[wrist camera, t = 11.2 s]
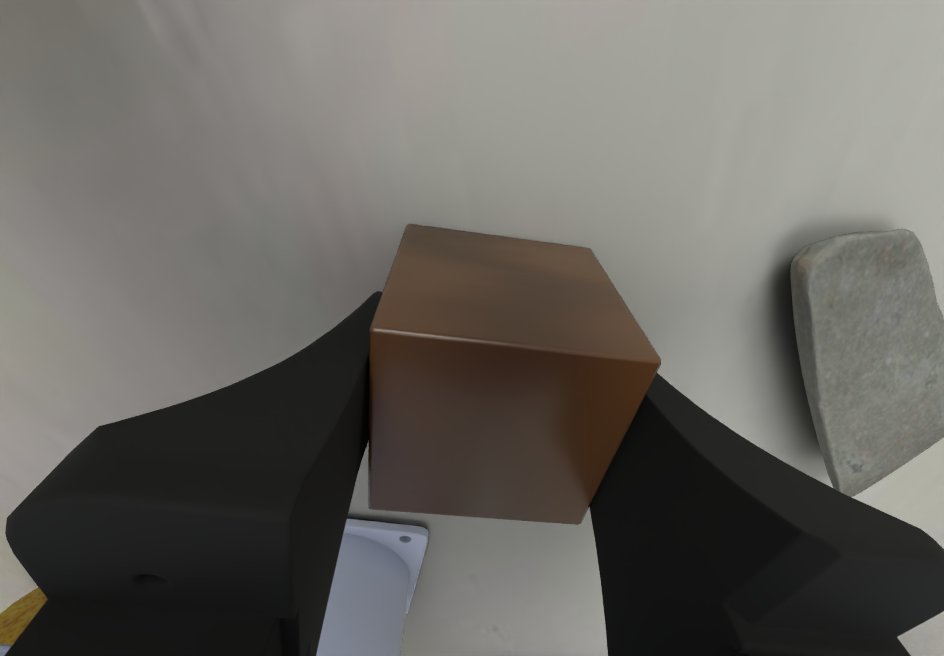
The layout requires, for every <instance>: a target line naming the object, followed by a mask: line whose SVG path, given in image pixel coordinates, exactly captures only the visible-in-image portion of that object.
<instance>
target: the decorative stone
mask: <svg viewBox="0 0 944 656" xmlns="http://www.w3.org/2000/svg"><path fill="white" fill-rule="evenodd" d="M791 291H792V304H793V315H794V324H795V332H796V339H797V346H798V352H799V358H800V364H801V370H802V375H803V380H804V385H805V389H806V394H807V398H808V402H809V407H810V410H811V415H812V419H813V423H814V427H815V431H816V434H817V438H818V442H819V445H820V449H821V452H822V456H823V459H824V463H825V466H826V469H827V472H828V475H829V478H830V480H831V483H832V485H833V487H834V489H835V490H837V491H839V492H841V493H843V494H845V495H847V496H849V497H852V496H855V495H856V494H858V493H860V492H862V491H863V490H865V489H867V488H868V487H870V486H872V485H873V484H875V483H876V482H878V481H880V480H881V479H883V478H884V477H886V476H887V475H889V474H890V473H892V472H893V471H895V470H896V469H898V468H899V467H901V466H902V465H904V464H905V463H907V462H908V461H910V460H911V459H913V458H914V457H916V456H917V455H919V454H920V453H922V452H923V451H925V450H926V449H928V448H929V447H930V446H932V445H933V444H935V443H936V442H938V441H939V440H940V439H942V438H943V437H944V319H943V315H942V312H941V310H940V308H939V306H938V303H937V300H936V295H935V289H934V283H933V280H932V276H931V273H930V269H929V266H928V262H927V259H926V256H925V253H924V251H923V248H922V245H921V243H920V241H919V240H918V238H917V237H916V235H915V234H914V233H913V232H911V231H909V230H907V229H897V230H893V231H889V232H888V231H869V232H855V233H850V234H844V235H839V236H834V237H830V238H828V239H825V240H822V241H819V242H816V243H813V244H810V245H807V246H805V247H804V248H803V249H802V250H801V251H800V252H799V253H798V254H797V255H796V256H795V257H794V259H793V261H792V263H791Z"/></svg>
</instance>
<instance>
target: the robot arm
mask: <svg viewBox="0 0 944 656" xmlns="http://www.w3.org/2000/svg"><path fill="white" fill-rule="evenodd" d="M382 293H383V292H379V291H377V292H375V293H374V294H372V295H371V296H370V297H369V298H368V299H367V300H366V301H365V302H364V303H363V304H362V305H361V306H360V307H359V308H357V309H356V310H355V311H354V312H353V313H352V314H350V315H349V316H348V317H347V318H346V319H344V320H343V321H342V322H341V323H339V324H338V325H337V326H336V327H334V328H333V329H332V330H330V331H329V332H327V333H326V334H325V335H323V336H322V337H320V338H319V339H317V340H316V341H315V342H313V343H312V344H310V345H309V346H307V347H306V348H304V349H302V350H301V351H299V352H298V353H296V354H294V355H293V356H291V357H289V358H287V359H285V360H284V361H282V362H280V363H278V364H276V365H274V366H272V367H270V368H268V369H265V370H263V371H261V372H259V373H257V374H254V375H252V376H250V377H248V378H246V379H243V380H241V381H239V382H237V383H234V384H232V385H229V386H227V387H224V388H222V389H219V390H216V391H214V392H211V393H209V394H206V395H203V396H200V397H197V398H194V399H191V400H188V401H186V402H183V403H179V404H176V405H173V406H170V407H167V408H163V409H160V410H156V411H153V412H149V413H146V414H142V415H139V416H135V417H132V418H128V419H125V420H121V421H118V422H114V423H110V424H106V425H102V426H99V427H98V428H96V429H95V430H94V431H93V432H92V433H91V434H90V435H89V436H88V437H86V438H85V439H84V440H83V441H82V442H81V443H80V444H79V445H78V446H77V447H76V448H74V449H73V450H72V451H71V452H70V453H69V454H68V455H67V456H66V457H65V458H64V460H63V461H62V462H61V463H60V464H59V465H58V466H57V467H56V468H55V469H54V470H53V471H52V472H51V473H50V474H49V475H48V476H47V477H46V478H45V479H44V480H43V481H42V482H41V483H40V484H39V485H38V486H37V487H36V488H35V489H34V490H33V491H32V492H31V493H30V494H29V495H28V496H27V497H26V499H25V500H24V501H23V502H22V503H21V504H20V505H19V506H18V507H17V508H16V509H15V510H14V511H13V512H12V513H11V514H10V515H9V516H8V517H7V524H6V532H5V533H6V537H7V541H8V543H9V545H10V547H11V549H12V551H13V553H14V555H15V556H16V557H17V559H18V560H19V561H20V563H21V564H22V565H23V567H24V568H25V569H26V571H27V572H28V573H29V575H30V576H31V577H32V579H33V580H34V581H35V583H36V584H37V585H38V587H39V588H40V589H41V591H42V592H43V594H44V595H45V596H46V598H47V601H46V602H45V603H44V605H43V606H42V607H41V609H40V610H39V611H38V612H37V614H36V615H35V616H34V618H33V619H32V620H31V622H30V623H29V624H28V625H27V627H26V628H25V629H24V631H23V632H22V633H21V635H20V636H19V637H18V638H17V640H16V641H15V642H14V644H13V645H10V644H0V656H401V649H402V640H403V631H404V621H405V615H406V614H407V613H408V612H409V608H410V605H411V601H412V597H413V594H414V590H415V586H416V583H417V579H418V576H419V572H420V568H421V565H422V561H423V557H424V554H425V550H426V546H427V543H428V536H429V533H428V531H427V529H426V528H424V527H420V526H413V525H403V524H394V523H385V522H375V521H366V520H357V519H348V518H347V516H348V512H349V507H350V503H351V499H352V495H353V490H354V486H355V482H356V478H357V474H358V471H359V467H360V464H361V461H362V458H363V455H364V452H365V449H366V446H367V443H368V440H369V333H370V327H371V324H372V321H373V319H374V316H375V313H376V310H377V307H378V304H379V302H380V299H381V296H382ZM590 512H591V518H592V524H593V530H594V536H595V542H596V549H597V556H598V563H599V571H600V578H601V586H602V595H603V605H604V614H605V623H606V634H607V647H608V656H911V655H910V654H909V653H908V651H907V650H906V648H905V647H904V646H903V644H902V643H901V642H900V640H899V639H898V638H897V637H898V636H900V635H902V634H904V633H905V632H907V631H909V630H911V629H913V628H915V627H916V626H918V625H920V624H922V623H924V622H926V621H927V620H929V619H931V618H933V617H935V616H937V615H938V614H940V613H942V612H943V611H944V549H943V548H942V547H941V546H940V545H939V544H938V543H937V542H936V541H935V540H934V539H933V538H931V537H930V536H929V535H928V534H927V533H925V532H924V531H923V530H921V529H919V528H917V527H915V526H913V525H911V524H908V523H906V522H904V521H902V520H900V519H897V518H895V517H893V516H891V515H889V514H886V513H884V512H882V511H880V510H878V509H875V508H873V507H871V506H869V505H867V504H864V503H862V502H860V501H858V500H856V499H853V498H851V497H849V496H847V495H845V494H843V493H841V492H839V491H837V490H835V489H833V488H831V487H830V486H828V485H826V484H824V483H822V482H820V481H818V480H816V479H814V478H812V477H810V476H808V475H806V474H805V473H803V472H801V471H799V470H797V469H795V468H794V467H792V466H790V465H788V464H786V463H785V462H783V461H781V460H779V459H778V458H776V457H774V456H773V455H771V454H769V453H768V452H766V451H764V450H763V449H761V448H759V447H757V446H756V445H754V444H753V443H751V442H749V441H748V440H746V439H745V438H743V437H741V436H740V435H738V434H737V433H735V432H734V431H732V430H731V429H729V428H728V427H727V426H725V425H724V424H722V423H721V422H719V421H718V420H716V419H715V418H713V417H712V416H711V415H709V414H708V413H706V412H705V411H704V410H702V409H701V408H700V407H698V406H697V405H696V404H694V403H693V402H692V401H691V400H689V399H688V398H687V397H686V396H684V395H683V394H682V393H680V392H679V391H678V390H677V389H675V388H674V387H673V386H672V385H671V384H669V383H668V382H667V381H666V380H665V379H663V378H662V377H661V376H660V375H659V374H658V373H656V375H655V377H654V379H653V381H652V383H651V385H650V387H649V389H648V391H647V393H646V395H645V397H644V399H643V401H642V403H641V405H640V407H639V409H638V411H637V413H636V415H635V417H634V419H633V421H632V423H631V425H630V427H629V428H628V430H627V432H626V434H625V436H624V438H623V440H622V442H621V444H620V446H619V448H618V450H617V452H616V454H615V456H614V458H613V460H612V462H611V464H610V466H609V468H608V470H607V472H606V474H605V476H604V478H603V480H602V482H601V484H600V486H599V488H598V490H597V492H596V494H595V496H594V498H593V500H592V502H591V504H590Z"/></svg>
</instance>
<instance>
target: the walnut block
mask: <svg viewBox="0 0 944 656" xmlns="http://www.w3.org/2000/svg"><path fill="white" fill-rule="evenodd" d="M660 365H661V359H660V357H659V356H658V354H657V352H656V351H655V349H654V348H653V346H652V345H651V343H650V341H649V340H648V338H647V337H646V335H645V334H644V332H643V330H642V329H641V327H640V326H639V324H638V323H637V321H636V319H635V318H634V316H633V315H632V313H631V312H630V310H629V309H628V307H627V305H626V304H625V302H624V301H623V299H622V298H621V296H620V294H619V293H618V291H617V290H616V288H615V287H614V285H613V283H612V282H611V280H610V279H609V277H608V276H607V274H606V272H605V271H604V269H603V268H602V266H601V265H600V263H599V261H598V260H597V258H596V257H595V255H594V254H593V252H592V250H591V249H589V248H583V247H576V246H568V245H561V244H553V243H546V242H539V241H531V240H524V239H516V238H509V237H501V236H494V235H486V234H479V233H472V232H464V231H457V230H449V229H442V228H434V227H427V226H419V225H412V224H408V225H407V226H406V228H405V231H404V234H403V237H402V240H401V242H400V245H399V248H398V251H397V254H396V257H395V259H394V262H393V265H392V268H391V271H390V273H389V276H388V279H387V282H386V285H385V288H384V290H383V293H382V296H381V299H380V302H379V304H378V307H377V310H376V313H375V316H374V319H373V321H372V324H371V327H370V333H369V457H368V506H369V509H372V510H386V511H400V512H413V513H427V514H440V515H454V516H467V517H481V518H494V519H508V520H522V521H535V522H549V523H562V524H576V525H578V524H580V523H581V522H582V520H583V518H584V516H585V514H586V512H587V510H588V508H589V506H590V504H591V502H592V500H593V498H594V496H595V494H596V492H597V490H598V488H599V486H600V484H601V482H602V480H603V478H604V476H605V474H606V472H607V470H608V468H609V466H610V464H611V462H612V460H613V458H614V456H615V454H616V452H617V450H618V448H619V446H620V444H621V442H622V440H623V438H624V436H625V434H626V432H627V430H628V428H629V427H630V425H631V423H632V421H633V419H634V417H635V415H636V413H637V411H638V409H639V407H640V405H641V403H642V401H643V399H644V397H645V395H646V393H647V391H648V389H649V387H650V385H651V383H652V381H653V379H654V377H655V375H656V373H657V371H658V369H659V367H660Z"/></svg>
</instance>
